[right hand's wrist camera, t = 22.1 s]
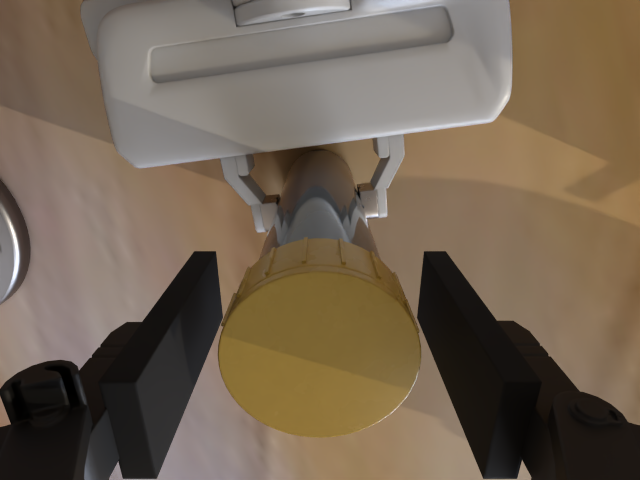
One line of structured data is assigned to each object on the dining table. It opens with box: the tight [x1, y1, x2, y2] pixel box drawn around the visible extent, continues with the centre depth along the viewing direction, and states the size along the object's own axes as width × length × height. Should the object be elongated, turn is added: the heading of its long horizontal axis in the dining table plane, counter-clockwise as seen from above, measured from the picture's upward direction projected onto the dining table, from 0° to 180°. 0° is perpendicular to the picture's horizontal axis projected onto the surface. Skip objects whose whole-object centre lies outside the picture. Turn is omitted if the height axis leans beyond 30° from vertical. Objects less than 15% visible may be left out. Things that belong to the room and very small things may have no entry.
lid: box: [218, 237, 421, 437], centre depth 11 cm, size 6×6×2 cm
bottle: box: [259, 150, 381, 260], centre depth 20 cm, size 5×5×19 cm
